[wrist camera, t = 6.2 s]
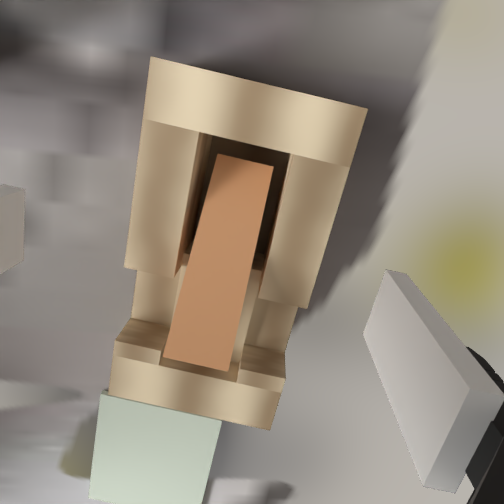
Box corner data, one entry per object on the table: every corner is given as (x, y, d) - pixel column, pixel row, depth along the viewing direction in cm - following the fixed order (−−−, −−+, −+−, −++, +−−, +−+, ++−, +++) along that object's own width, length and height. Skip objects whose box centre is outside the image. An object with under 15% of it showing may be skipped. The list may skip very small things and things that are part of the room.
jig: (135, 348, 38) (107, 394, 32) (176, 67, 30) (150, 56, 23) (270, 379, 38) (269, 430, 32) (348, 109, 30) (368, 108, 24)
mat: (90, 493, 44) (88, 498, 44) (103, 390, 40) (100, 394, 39) (197, 516, 44) (197, 521, 44) (222, 416, 40) (222, 421, 39)
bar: (169, 358, 28) (162, 356, 24) (217, 179, 32) (217, 153, 28) (226, 371, 28) (228, 371, 24) (266, 190, 32) (273, 166, 28)
